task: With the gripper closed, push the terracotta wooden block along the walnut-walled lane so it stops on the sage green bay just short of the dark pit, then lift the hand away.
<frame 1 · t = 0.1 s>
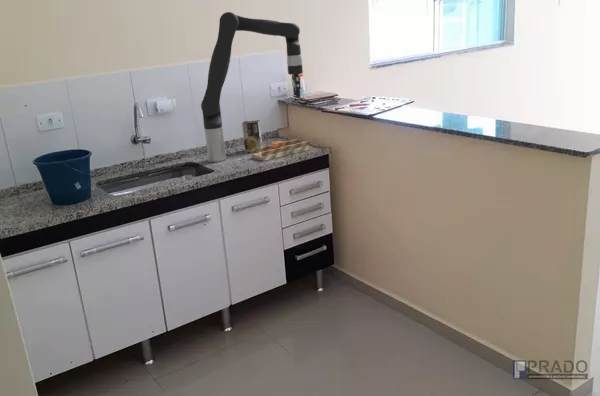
hand: (297, 96, 285), 29 cm above the worktop, tool pointing down, fingers open, 8 cm apart
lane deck: (281, 153, 292), on the worktop
block: (278, 149, 290), point 2 cm above the worktop, touching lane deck
coffee box: (254, 150, 305), on the worktop
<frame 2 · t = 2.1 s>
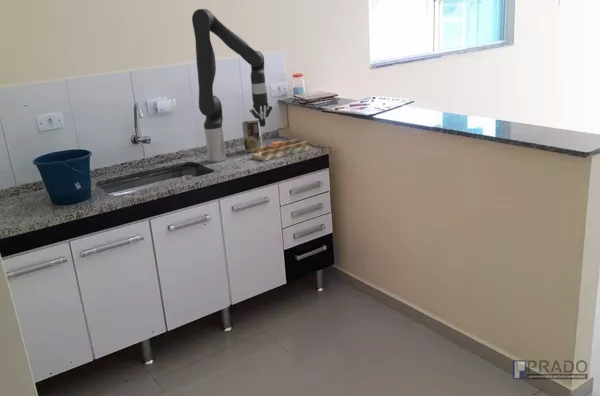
hand: (262, 126, 281), 16 cm above the worktop, tool pointing down, fingers closed
nothing on the worktop moved.
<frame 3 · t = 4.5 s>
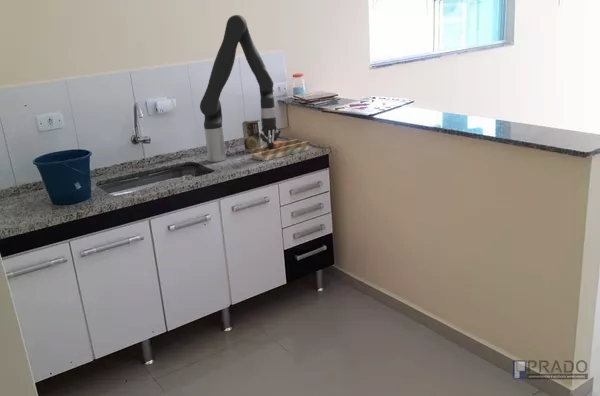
hand: (270, 149, 287), 4 cm above the worktop, tool pointing down, fingers closed
block: (278, 149, 290), point 2 cm above the worktop, touching gripper, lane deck
everything else where it was.
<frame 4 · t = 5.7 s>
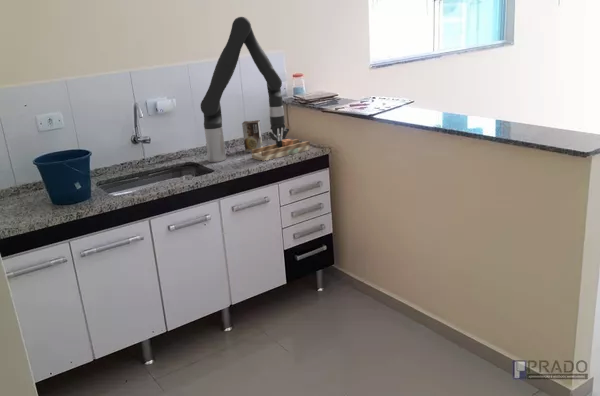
hand: (279, 147, 290), 4 cm above the worktop, tool pointing down, fingers closed
block: (286, 147, 293), point 2 cm above the worktop, touching gripper, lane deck
everything else where it was.
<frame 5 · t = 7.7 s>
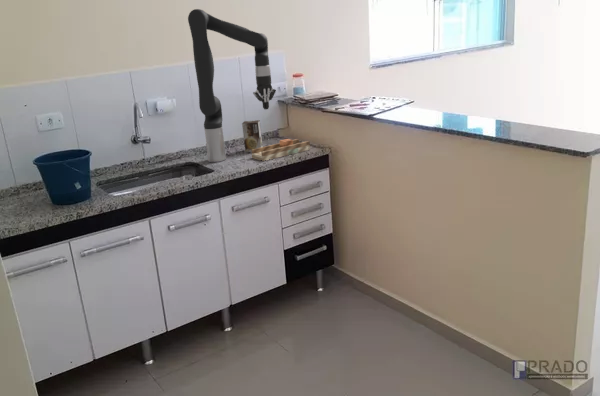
hand: (266, 109, 282), 25 cm above the worktop, tool pointing down, fingers closed
block: (286, 147, 293), point 2 cm above the worktop, touching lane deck
everything else where it was.
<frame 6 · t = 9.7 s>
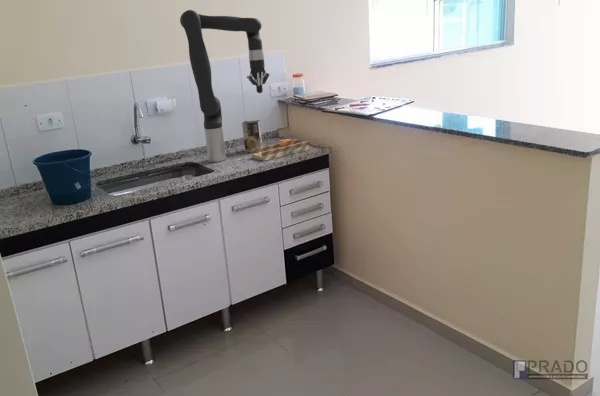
hand: (259, 92, 288), 32 cm above the worktop, tool pointing down, fingers closed
nothing on the worktop moved.
at the end: block 0.4 cm from the target spot, point 2.5 cm above the worktop; block tilted 0°; block moved 5.8 cm from its start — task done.
